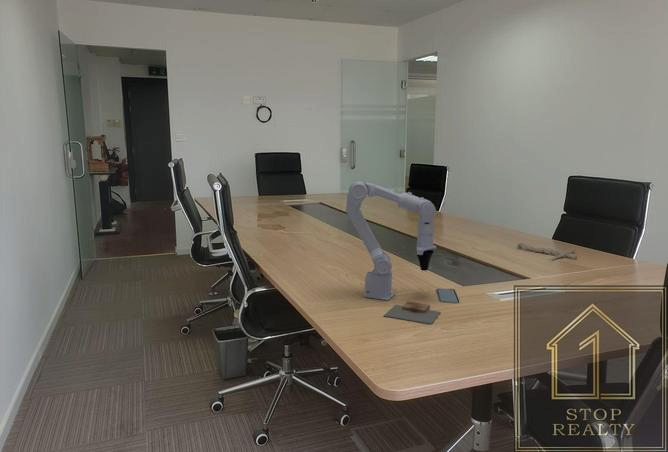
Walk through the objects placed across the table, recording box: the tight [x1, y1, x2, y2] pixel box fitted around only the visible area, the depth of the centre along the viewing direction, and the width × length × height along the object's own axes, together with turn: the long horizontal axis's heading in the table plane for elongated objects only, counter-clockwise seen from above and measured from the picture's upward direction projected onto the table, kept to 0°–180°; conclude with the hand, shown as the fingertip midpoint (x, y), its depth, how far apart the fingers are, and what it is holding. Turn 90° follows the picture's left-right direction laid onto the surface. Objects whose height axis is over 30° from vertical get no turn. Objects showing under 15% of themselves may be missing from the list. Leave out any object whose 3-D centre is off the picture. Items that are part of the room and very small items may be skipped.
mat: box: [383, 304, 442, 325], centre depth 166 cm, size 16×12×1 cm
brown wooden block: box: [401, 301, 431, 315], centre depth 170 cm, size 8×2×6 cm
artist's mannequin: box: [516, 242, 578, 261], centre depth 254 cm, size 28×4×30 cm
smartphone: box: [435, 288, 461, 304], centre depth 186 cm, size 7×1×15 cm
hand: (424, 270), depth 183 cm, fingers closed
